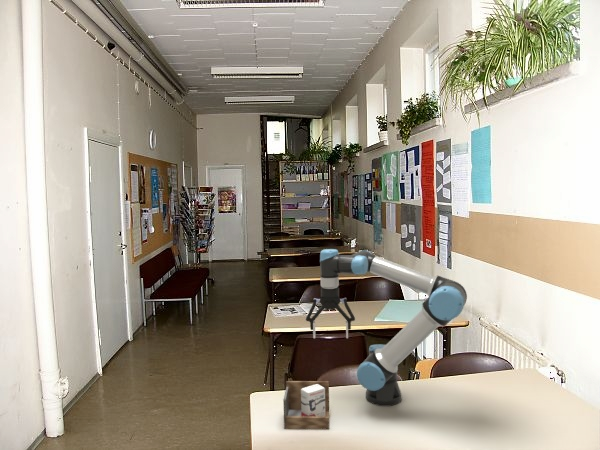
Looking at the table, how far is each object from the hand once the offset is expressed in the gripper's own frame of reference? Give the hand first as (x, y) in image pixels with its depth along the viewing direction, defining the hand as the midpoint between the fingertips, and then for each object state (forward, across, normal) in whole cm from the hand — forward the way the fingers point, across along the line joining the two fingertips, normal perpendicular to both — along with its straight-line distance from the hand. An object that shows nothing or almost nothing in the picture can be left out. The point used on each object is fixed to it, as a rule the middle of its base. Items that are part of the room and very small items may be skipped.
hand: (330, 337), depth 211 cm
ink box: (+27, +7, +15) cm, 32 cm away
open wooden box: (+29, +10, +15) cm, 34 cm away
